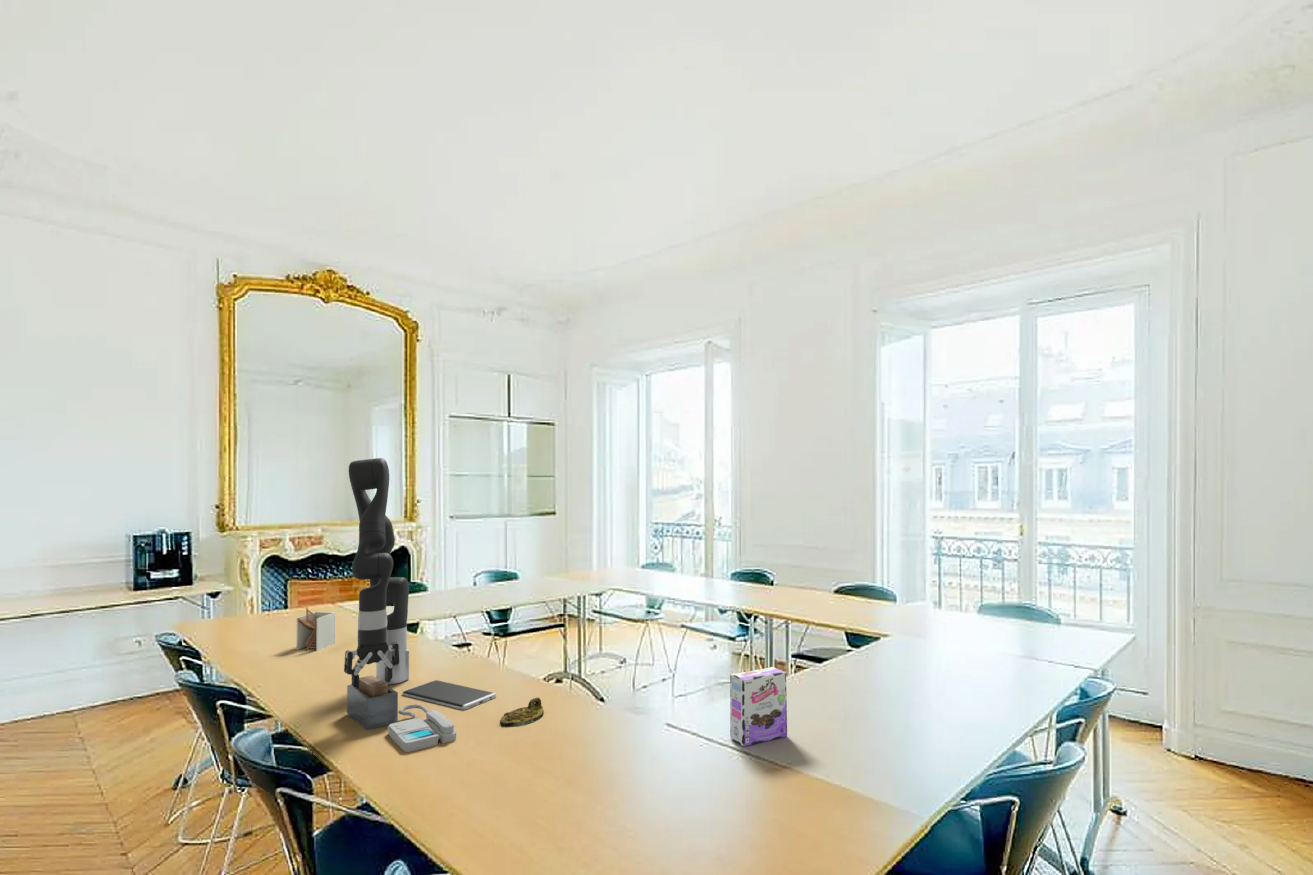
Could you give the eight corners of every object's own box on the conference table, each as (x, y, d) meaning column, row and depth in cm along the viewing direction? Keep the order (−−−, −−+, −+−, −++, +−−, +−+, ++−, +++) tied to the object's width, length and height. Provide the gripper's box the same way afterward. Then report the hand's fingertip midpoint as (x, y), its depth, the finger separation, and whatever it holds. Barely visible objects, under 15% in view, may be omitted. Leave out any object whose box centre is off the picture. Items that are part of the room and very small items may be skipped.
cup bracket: (375, 707, 201) (376, 679, 201) (397, 722, 189) (397, 692, 190) (347, 714, 196) (347, 685, 196) (367, 730, 184) (367, 699, 184)
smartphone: (464, 712, 198) (464, 706, 198) (400, 696, 212) (400, 690, 212) (497, 698, 209) (497, 692, 210) (435, 684, 223) (435, 679, 223)
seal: (515, 735, 183) (552, 716, 196) (516, 717, 183) (554, 700, 196) (490, 724, 188) (528, 707, 201) (491, 707, 188) (529, 691, 201)
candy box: (743, 747, 170) (742, 679, 171) (729, 739, 176) (728, 673, 176) (788, 736, 177) (787, 671, 178) (774, 729, 182) (773, 665, 183)
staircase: (296, 651, 265) (296, 607, 266) (314, 643, 276) (315, 601, 277) (316, 652, 264) (317, 607, 265) (334, 644, 275) (335, 602, 275)
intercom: (425, 697, 197) (457, 723, 177) (425, 713, 197) (457, 740, 177) (376, 707, 189) (404, 735, 169) (376, 724, 189) (404, 754, 169)
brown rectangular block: (371, 693, 199) (372, 675, 199) (387, 703, 190) (388, 684, 190) (357, 696, 196) (357, 678, 196) (373, 707, 187) (373, 688, 187)
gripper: (392, 619, 201) (392, 676, 200) (341, 627, 192) (340, 687, 191) (403, 623, 195) (402, 682, 195) (350, 632, 186) (350, 694, 185)
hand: (372, 684), depth 193 cm, fingers open, 8 cm apart
